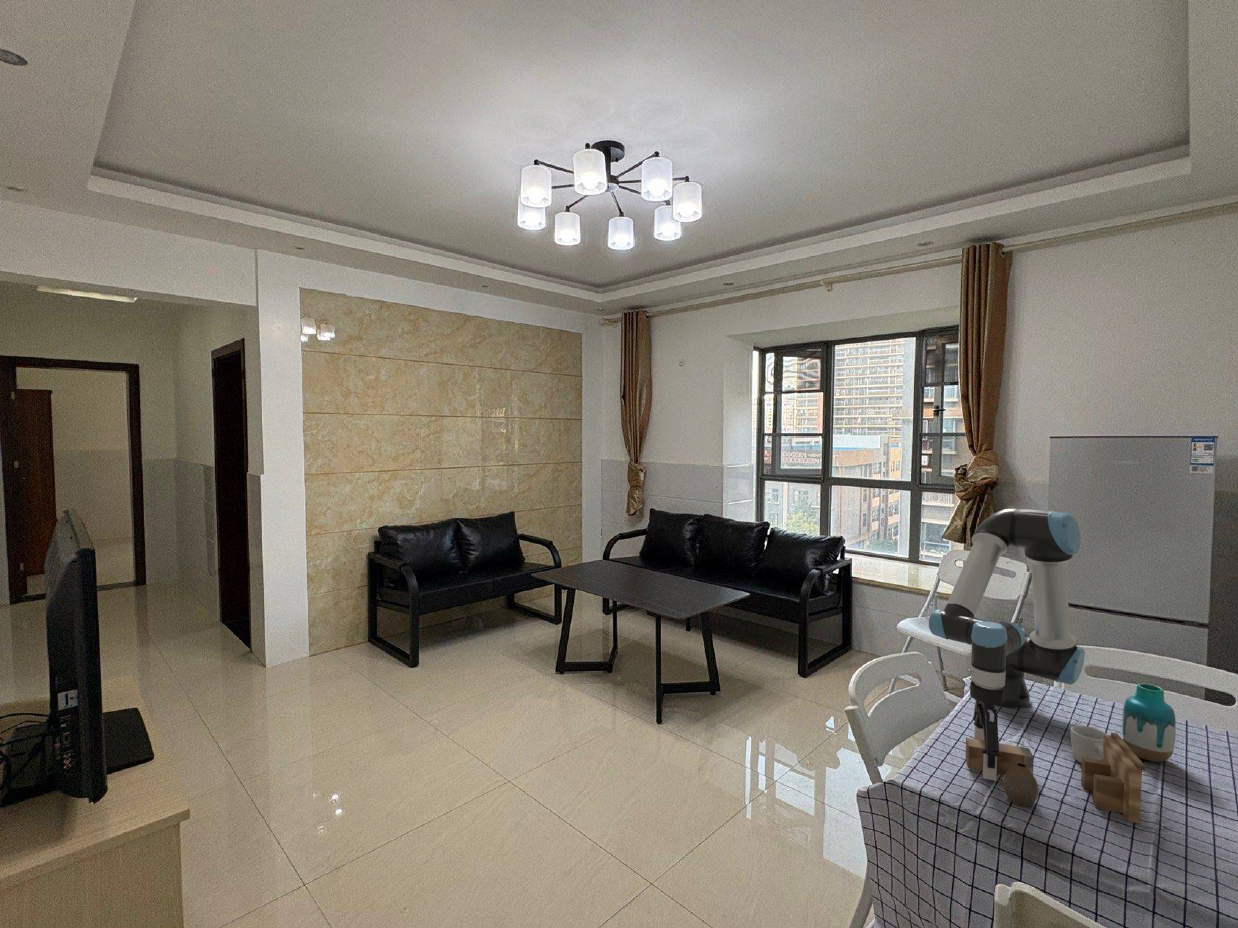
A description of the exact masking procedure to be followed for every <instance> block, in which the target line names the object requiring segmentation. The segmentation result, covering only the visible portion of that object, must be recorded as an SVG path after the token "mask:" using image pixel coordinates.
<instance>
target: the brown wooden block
mask: <svg viewBox="0 0 1238 928" xmlns="http://www.w3.org/2000/svg"><path fill="white" fill-rule="evenodd" d="M982 750H985V743H984V741H983V740H977V739H974V738H972V737H971V738H970V737H965V758H964V759H965V763H966V766H968V767H967V768H971V769H970V770H973V769H974V770H975V771H978V770H979V771H978V772H983V763H984V753H982ZM991 750H992V749H991ZM999 753H1000V756H999V757H997V774H996V775H1001V776H1004V775H1005V773H1006V772H1007V770H1009V769H1010V768H1011V767H1013V766H1014V764H1015V763H1016V762H1021V763H1024V764H1026V765H1027V766H1028V769H1029V771H1030V772H1031V773H1032V775H1033V776H1034V762H1035V761H1034V760H1035V757H1034V755H1033V753H1032V751H1031V749H1030V747H1024V746H1017V745H1012V744H1005V743H1001V742H1000V743H999Z"/></svg>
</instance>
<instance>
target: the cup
mask: <svg viewBox="0 0 1238 928" xmlns="http://www.w3.org/2000/svg"><path fill="white" fill-rule="evenodd" d="M1104 735H1105V736H1109V735H1108V734H1107V733H1106V732H1104V731H1102V730H1100V729H1098V728H1095V727H1091V726H1087V725H1073V726H1071V727H1070V739H1071V740H1070V741H1071V751H1072V757H1073V758H1074V760H1075V761H1077V762H1078V763H1081V764H1082V757H1085V758H1091V759H1097V760H1103V742H1104Z"/></svg>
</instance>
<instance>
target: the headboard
mask: <svg viewBox="0 0 1238 928" xmlns="http://www.w3.org/2000/svg"><path fill="white" fill-rule="evenodd" d="M1140 759H1141V758H1139V757H1137V756H1136V755H1135V754H1134V752H1133V751H1132V750H1131V749H1130V748H1129V747H1128V745H1127V744H1126V743H1125V742H1124V741H1123V737H1121V736H1120V735H1119V733H1117V732H1112V731H1111V732H1110V736H1109V735H1108V736H1105V735H1104V742H1103V760H1097V759H1091V758H1085V757H1082V763H1081V783H1080V785H1081V787H1082V789H1083V790H1085V791H1091V792H1092V804H1093V806H1094V808H1095V809H1098V810H1102V811H1103V810H1104V811H1107V812H1108V811H1109V812H1113V813H1118V814H1123V816H1124V818H1125V819H1126V820H1127V822H1130V823H1135V824H1140V823H1141V822H1140V821H1141V805H1142V804H1141V802H1142V783H1143V782H1142V781H1143V780H1142V777H1143V771H1144V772H1146V771H1147V769H1146V768H1147V767H1146V766H1147V765H1145V764H1144V763H1143V762H1142V760H1140Z"/></svg>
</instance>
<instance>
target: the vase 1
mask: <svg viewBox="0 0 1238 928" xmlns="http://www.w3.org/2000/svg"><path fill="white" fill-rule="evenodd" d="M1002 786H1003V790H1004V791H1003V792H1004V793H1005V794H1004V795H1006V797H1007V798H1008V799H1009V800H1010V802H1011V803H1013V804H1015V805H1017V804H1018V805H1017V806H1020V807H1029V806H1031V805H1034V804H1035V803H1036V802H1037V799H1038V797H1039V789H1040V788H1039V784H1038V781H1037V779H1036V777H1035V775H1034V774H1033V775H1032V773H1031V772H1030V771H1029V769H1028V766H1027V765H1026V764H1024V763H1021V762H1016V763H1015V764H1014V766H1013V767H1011V768H1010V769H1009V770H1007V772H1006V773H1005V775H1003V778H1002Z"/></svg>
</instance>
